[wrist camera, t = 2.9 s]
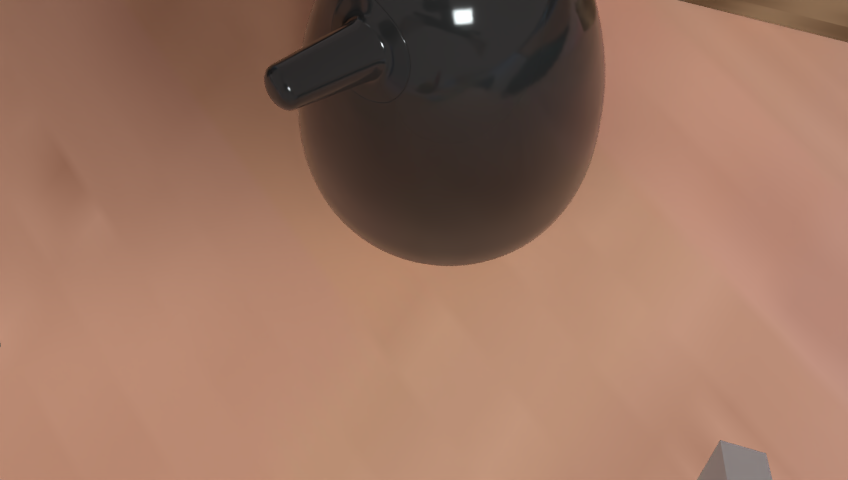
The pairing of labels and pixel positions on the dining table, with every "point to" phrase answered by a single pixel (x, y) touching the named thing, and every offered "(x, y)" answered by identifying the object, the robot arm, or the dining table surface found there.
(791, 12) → the track
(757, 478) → the robot arm
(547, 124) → the pump dispenser
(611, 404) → the dining table surface
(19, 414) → the dining table surface
